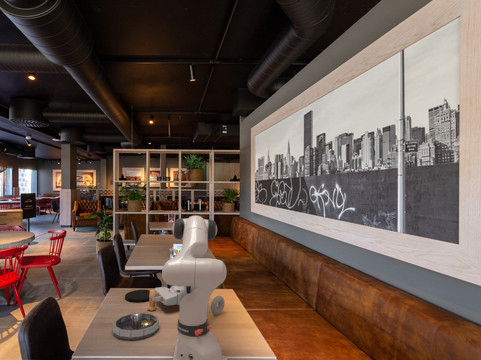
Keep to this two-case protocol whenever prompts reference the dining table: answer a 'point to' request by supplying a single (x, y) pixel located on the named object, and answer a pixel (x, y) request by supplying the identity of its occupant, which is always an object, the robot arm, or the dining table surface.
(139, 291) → the wireless charger
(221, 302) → the donut
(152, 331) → the bowl
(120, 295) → the dining table surface
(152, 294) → the peg on round base
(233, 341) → the dining table surface
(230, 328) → the dining table surface
